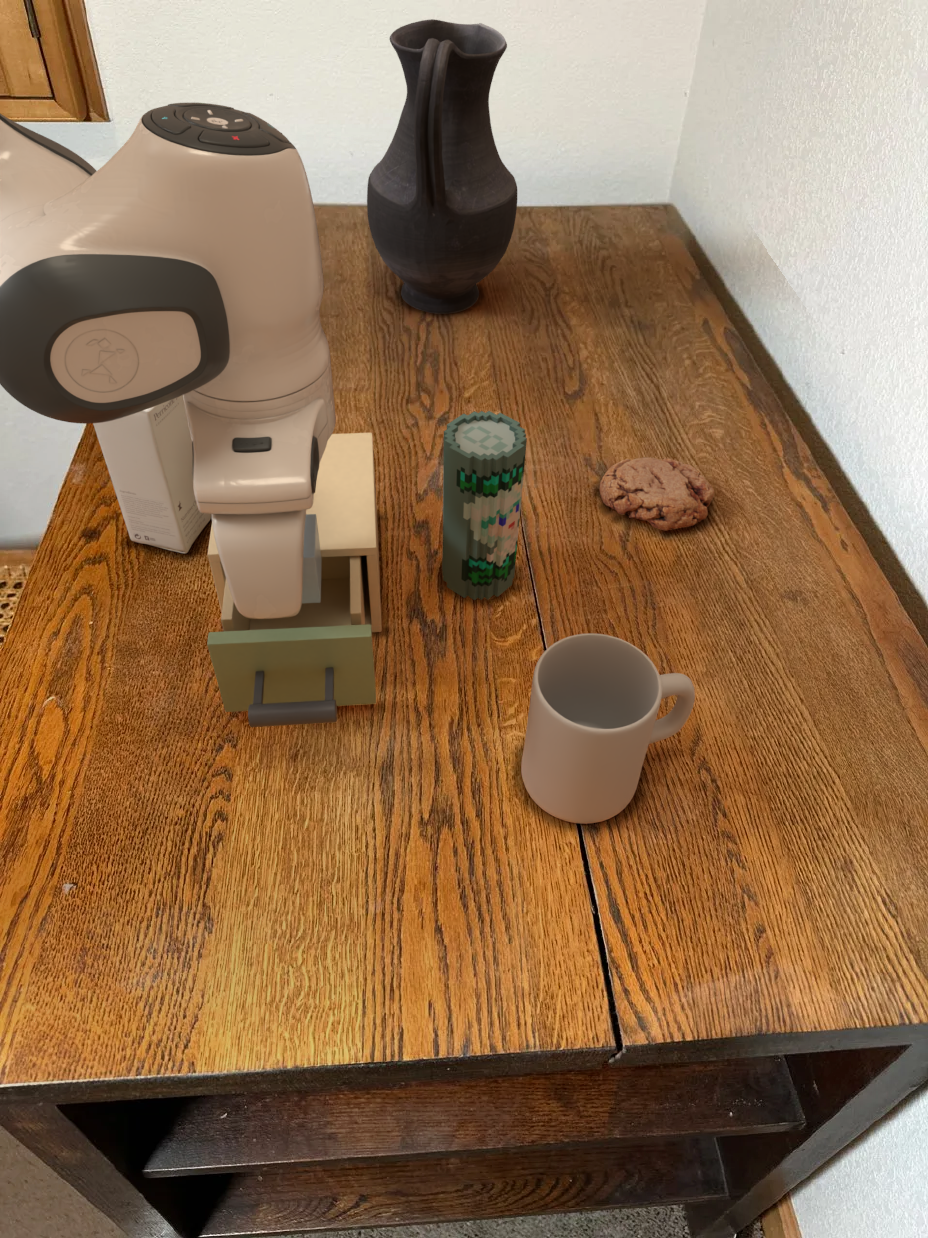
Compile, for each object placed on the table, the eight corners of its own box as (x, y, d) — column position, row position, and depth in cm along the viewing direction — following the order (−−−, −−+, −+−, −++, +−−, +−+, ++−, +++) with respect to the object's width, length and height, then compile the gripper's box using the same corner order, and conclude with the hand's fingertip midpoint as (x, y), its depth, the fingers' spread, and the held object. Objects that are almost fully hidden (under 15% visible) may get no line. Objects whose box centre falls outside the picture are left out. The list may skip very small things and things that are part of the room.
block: (256, 606, 66) (247, 559, 63) (260, 562, 69) (251, 515, 66) (320, 603, 66) (315, 557, 63) (321, 559, 69) (316, 513, 66)
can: (482, 609, 80) (490, 469, 69) (429, 576, 82) (429, 436, 71) (526, 572, 83) (540, 433, 72) (474, 541, 85) (480, 402, 74)
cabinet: (381, 632, 78) (376, 547, 70) (228, 639, 77) (207, 554, 70) (377, 516, 87) (372, 432, 80) (241, 522, 86) (224, 437, 79)
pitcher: (515, 267, 121) (533, -2, 99) (503, 352, 107) (521, 61, 85) (383, 257, 122) (373, -11, 100) (354, 341, 108) (334, 50, 86)
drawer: (378, 754, 68) (372, 687, 62) (219, 763, 67) (199, 696, 62) (372, 580, 80) (367, 510, 75) (238, 586, 80) (223, 516, 74)
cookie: (593, 468, 93) (597, 443, 91) (698, 468, 93) (705, 444, 91) (606, 535, 86) (610, 510, 84) (719, 535, 87) (726, 511, 85)
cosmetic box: (187, 556, 83) (149, 416, 72) (126, 542, 84) (80, 402, 73) (229, 498, 89) (200, 360, 78) (171, 486, 90) (135, 348, 79)
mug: (543, 838, 65) (559, 746, 57) (505, 741, 70) (514, 645, 62) (699, 798, 67) (736, 704, 59) (650, 707, 73) (677, 610, 65)
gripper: (222, 314, 63) (250, 476, 73) (189, 512, 49) (230, 678, 59) (316, 312, 64) (331, 473, 74) (309, 507, 50) (329, 673, 60)
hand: (286, 566), depth 66 cm, fingers closed on block, 4 cm apart
